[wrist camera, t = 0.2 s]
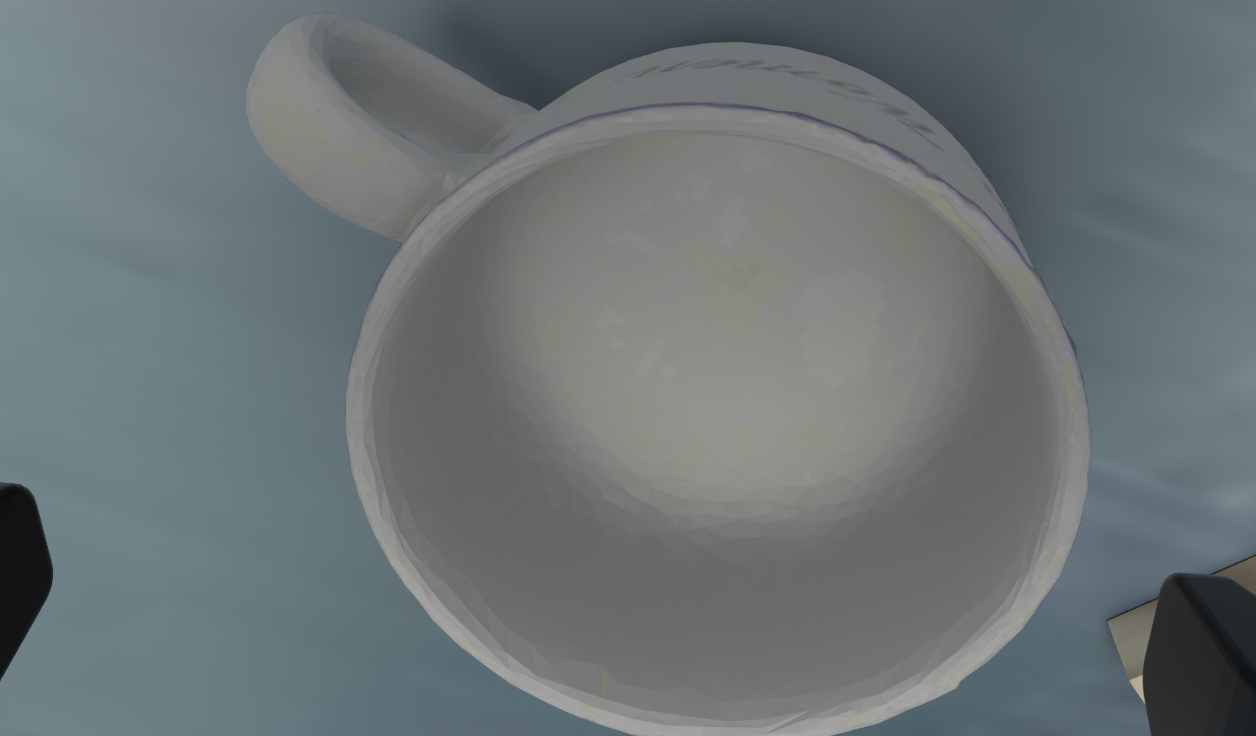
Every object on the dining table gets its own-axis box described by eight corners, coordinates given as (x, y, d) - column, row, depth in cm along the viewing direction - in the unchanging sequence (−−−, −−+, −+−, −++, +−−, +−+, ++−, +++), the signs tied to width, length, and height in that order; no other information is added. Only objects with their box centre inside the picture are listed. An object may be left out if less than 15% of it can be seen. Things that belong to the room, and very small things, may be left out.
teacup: (1112, 341, 23) (1247, 572, 16) (683, 590, 27) (636, 865, 20) (683, -275, 20) (608, -335, 13) (264, 113, 24) (24, 236, 16)
